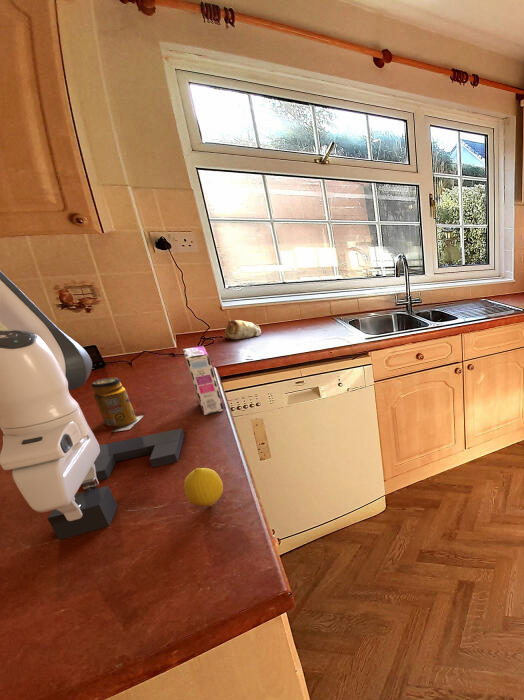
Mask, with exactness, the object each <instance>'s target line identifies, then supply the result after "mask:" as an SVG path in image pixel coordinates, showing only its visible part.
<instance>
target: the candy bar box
mask: <svg viewBox="0 0 524 700" xmlns="http://www.w3.org/2000/svg"><path fill="white" fill-rule="evenodd" d="M182 351H183V354H184V359H185V362H186V365H187V368H188V371H189V374H190V378H191V381H192V384H193V387H194V390H195V394H196V396H197V400H198V402H199V403H198V404H199V405H200V408H201V412H202V413H203V416H209V415H213V414H217V413H221V412H224V411H225V408H224V404H223V401H222V397H221V393H220V391H219V387H218V382H217V380H216V376H215V373H214V370H213V365H212V363H211V360H210V356H209V353H208V352H207V350H206V347H204V346H203V345H202V346H194V347H189V348H188V347H187V348H183V349H182Z"/></svg>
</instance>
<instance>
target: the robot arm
mask: <svg viewBox="0 0 524 700" xmlns="http://www.w3.org/2000/svg"><path fill="white" fill-rule="evenodd" d="M0 323H1V324H2V325H3V326H4V327H5V328H6V329H7V330H0V430H1V431H2V434H3V436H2V447H1V450H0V467H1V468H2V469H3V471H11V470H12V471H11V472H12V473H11V474H12V479H13V482H14V484H15V485H16V487H17V489H18V490H19V492H20V493H21V495H22V497H23V498H24V501H26V502H27V504H28V505H29V507H30V508H31V509H32V510H33V511H35V512H37V513H40V514H43V513H48V512H52V510H56V509H57V510H58V511H60V512H62V513H64V515H65V517H66V519H67V520H68V521H73V520H77V519H80V518H81V517H82V515H83V513H84V510H83V508H82V506H81V504H80V505H77V504H76V502H75V497H74V496H75V494H77V493H78V491H79V489H80V487H82V489H83V491H84V492H85V491H89V490H94V489H98V488H99V485H100V482H99V481H98V480H97V477H96V470H95V465H94V462H95V460H96V458H97V457H98V455H99V453H100V447H99V446H100V443H99V442H98V440H97V438H96V436H95V434H94V432H93V431H92V428H91V427H90V425H89V423H88V422H87V419H86V417H85V415H84V413H83V411H82V409H81V407H80V404H79V403H78V402H77V401H76V400H75V398H74V397H72V395H71V392H70V391H72V390H78V389H80V388H82V387H83V386H84V385H85V383H86V382H87V380H88V379H89V377H90V375H91V373H92V369H93V361H92V358H91V356H90V354H88V352H87V351H86V349H85V348H84V347H83V346H82V345H81V344H79V343H78V342H77V341H76V340H74V339H73V338H72V337H70V336H69V335H68V334H66V333H65V332H64V331H63V330H61V329H60V328H59V327H58V326H57V325H56V324H55V323H54V322H53V321H52V320H51V319H50V318H49V317H48V316H47V315H46V314H45V313H43V311H42V310H41V309H40V308H39V307H38V306H37V305H36V304H35V303H34V302H33V301H32V300H31V299H30V298H29V297H28V296H27V295H26V294H25V293H24V292H23V291H22V290H21V289H20V288H19V287H18V286H17V285H16V284H15V283H14V282H12V280H11V279H10V278H9V277H8V276H6V274H4V273H3V272H2V271H1V270H0Z"/></svg>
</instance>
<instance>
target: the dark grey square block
mask: <svg viewBox="0 0 524 700" xmlns="http://www.w3.org/2000/svg"><path fill="white" fill-rule="evenodd" d="M74 497H75V502H76V504H77V505H80V504H81V506H82V508H83V510H84V513H83V515H82V517H81V518H80V519H77V520H73V521H68V520H67V519H66V517H65V515H64V513H62V512H60V511H58V510H57V509H56V510H52V511H50V514H49V515H48V517H47V521H48V523H49V524H50V526H51V528H52V530H53V532H54V534H55V535H56V537H57V539H58V541H60V540H65V539H69V538H72V537H75V536H78V535H82V534H86V533H89V532H93V531H96V530H100V529H104V528H107V527H110V525H111V523H112V520H113V518H114V516H115V514H116V511H117V508H118V507H119V505H118V504H117V501H116V498H115V497H114V495H113V493H112V490H111V488H110V486H109V485H106V486H102V487H97V488H96V489H94V490H89V491H85V490H84V491H82V492H76V494H75V496H74Z"/></svg>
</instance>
